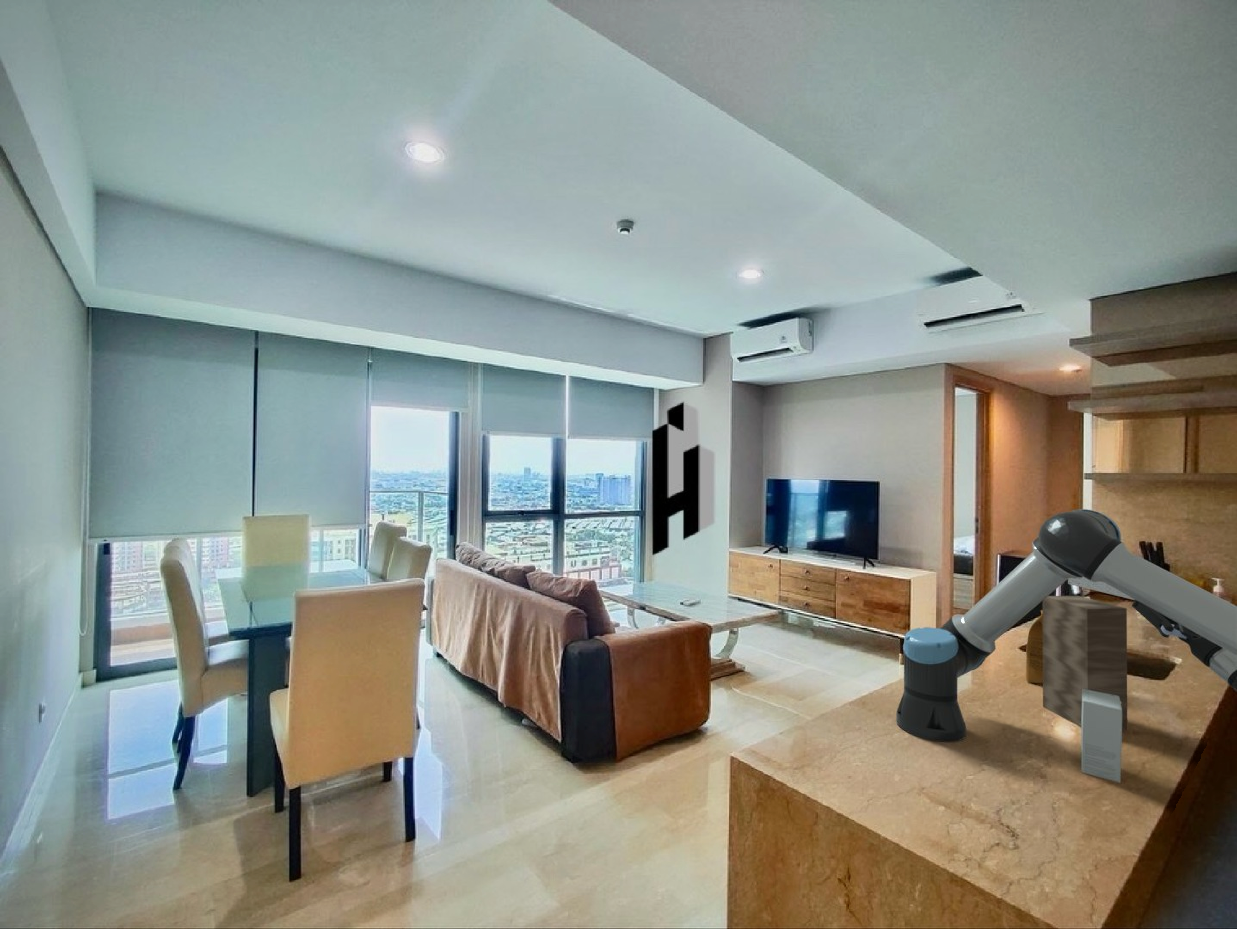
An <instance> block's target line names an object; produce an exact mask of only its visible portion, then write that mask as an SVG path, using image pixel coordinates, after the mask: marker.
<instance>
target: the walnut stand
mask: <svg viewBox="0 0 1237 929" xmlns="http://www.w3.org/2000/svg"><path fill="white" fill-rule="evenodd" d="M1127 609H1128V608H1126V607H1122V606H1118V605H1114V604H1111V603H1107V602H1103V601H1100V600H1095V599H1093V598H1088V597H1085V596H1081V595H1080V596H1079V595H1048V596H1047V597H1046V598H1045V599H1044V600H1043V601H1042V610H1043V684H1042V707H1043V708H1045V709H1046V710H1048V711H1050V712H1052V713H1054V714H1055V715H1057V716H1060V717H1061V718H1063V719H1066V720H1067V721H1069V722H1071V723H1072V724H1075V725H1077V726H1079V727H1080V728H1081V715H1082V689H1086V690H1091V691H1096V692H1101V693H1106V694H1111V695H1116V696H1119V698H1120V701H1121V702H1122V704H1121V707H1122V731H1128V642H1127V641H1128V638H1127V637H1128V628H1127V627H1128V624H1127V623H1128V622H1127V621H1128V617H1127V616H1128V615H1127V614H1128V612H1127V611H1128V610H1127Z"/></svg>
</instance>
